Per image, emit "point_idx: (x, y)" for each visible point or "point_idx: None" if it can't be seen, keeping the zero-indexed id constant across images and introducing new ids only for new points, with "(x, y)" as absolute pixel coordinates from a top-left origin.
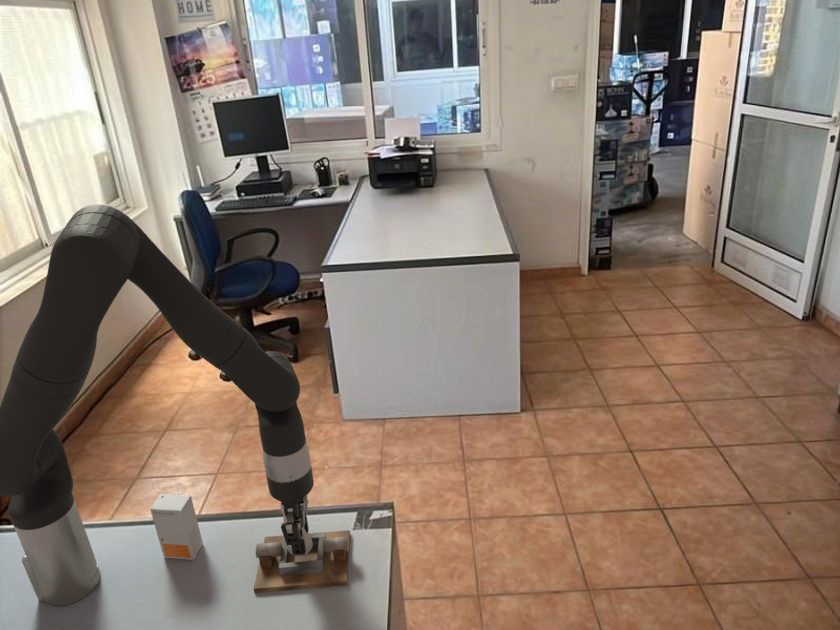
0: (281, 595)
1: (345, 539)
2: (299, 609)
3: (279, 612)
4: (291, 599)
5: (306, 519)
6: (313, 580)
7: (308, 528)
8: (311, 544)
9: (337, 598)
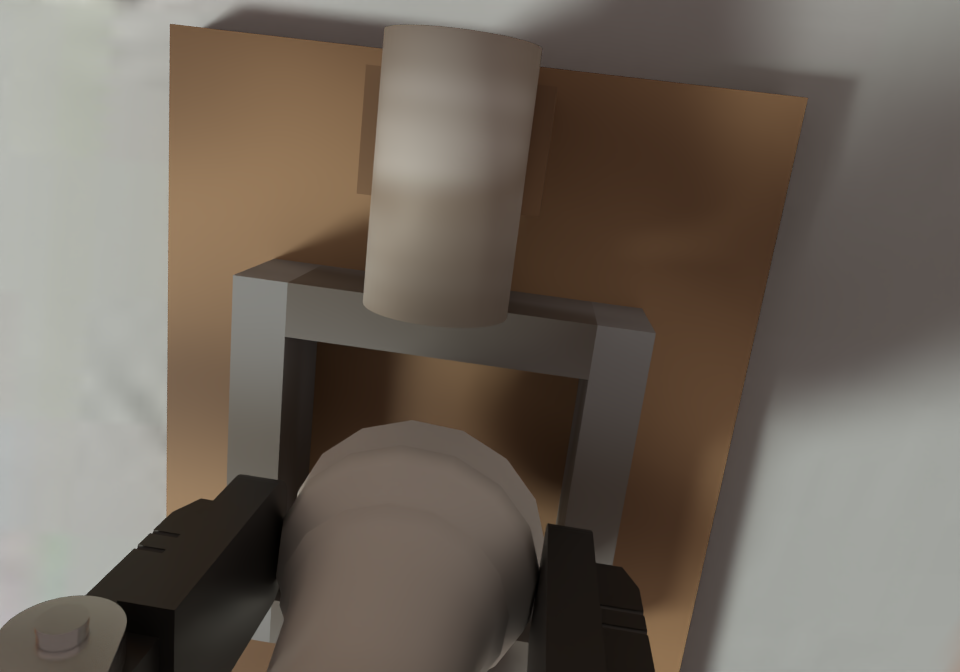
0: (723, 607)
1: (462, 40)
2: (901, 496)
3: (875, 627)
4: (784, 545)
5: (181, 582)
6: (705, 394)
7: (235, 481)
8: (426, 438)
9: (903, 199)
